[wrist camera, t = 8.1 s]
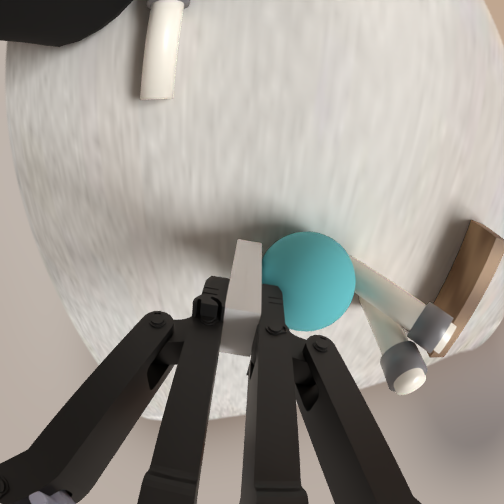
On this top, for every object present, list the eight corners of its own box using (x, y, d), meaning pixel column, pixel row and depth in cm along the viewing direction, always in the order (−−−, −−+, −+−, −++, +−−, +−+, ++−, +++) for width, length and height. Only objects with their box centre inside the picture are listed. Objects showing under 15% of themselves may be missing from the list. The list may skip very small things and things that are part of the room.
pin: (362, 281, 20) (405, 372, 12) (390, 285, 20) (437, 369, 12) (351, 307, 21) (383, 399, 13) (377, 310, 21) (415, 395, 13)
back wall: (471, 219, 17) (496, 237, 14) (483, 225, 17) (508, 242, 14) (416, 332, 22) (429, 357, 19) (430, 332, 22) (443, 356, 19)
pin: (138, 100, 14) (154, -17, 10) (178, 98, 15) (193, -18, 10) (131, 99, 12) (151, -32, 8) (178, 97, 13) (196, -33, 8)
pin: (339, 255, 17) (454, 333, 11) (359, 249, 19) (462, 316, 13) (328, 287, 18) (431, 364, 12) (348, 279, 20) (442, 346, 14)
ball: (305, 258, 11) (391, 287, 13) (275, 200, 16) (349, 231, 18) (247, 344, 14) (331, 355, 16) (236, 275, 19) (306, 293, 21)
